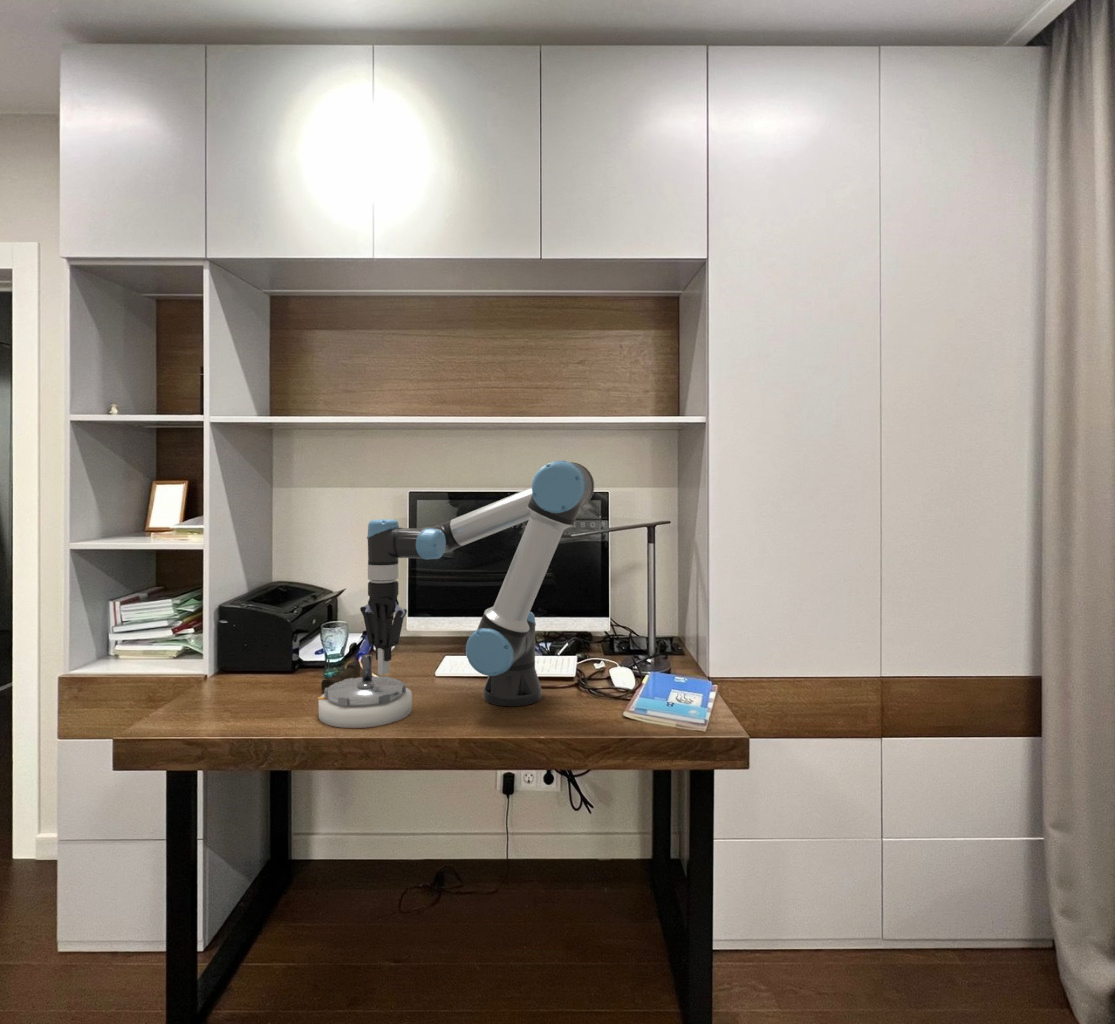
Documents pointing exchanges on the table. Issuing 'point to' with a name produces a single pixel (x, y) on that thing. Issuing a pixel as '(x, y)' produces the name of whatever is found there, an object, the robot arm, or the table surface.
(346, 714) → the housing
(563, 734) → the table surface
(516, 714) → the table surface
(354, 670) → the hand tool
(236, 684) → the table surface
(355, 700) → the grey disc with handle
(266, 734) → the table surface
